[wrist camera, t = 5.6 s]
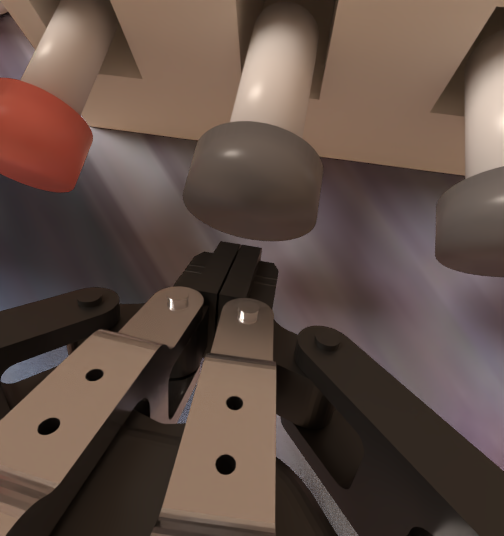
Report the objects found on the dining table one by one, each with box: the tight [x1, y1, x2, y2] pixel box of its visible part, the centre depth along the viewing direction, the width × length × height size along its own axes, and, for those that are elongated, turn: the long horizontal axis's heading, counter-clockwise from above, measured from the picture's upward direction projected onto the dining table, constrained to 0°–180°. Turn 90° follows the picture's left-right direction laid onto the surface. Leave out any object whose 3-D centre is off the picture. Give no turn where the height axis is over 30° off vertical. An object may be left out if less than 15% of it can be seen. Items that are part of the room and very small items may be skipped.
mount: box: [0, 0, 504, 176], centre depth 17 cm, size 9×26×12 cm, turn 79°
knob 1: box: [183, 2, 323, 241], centre depth 14 cm, size 9×5×5 cm, turn 169°
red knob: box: [0, 0, 119, 193], centre depth 15 cm, size 9×4×4 cm, turn 170°
